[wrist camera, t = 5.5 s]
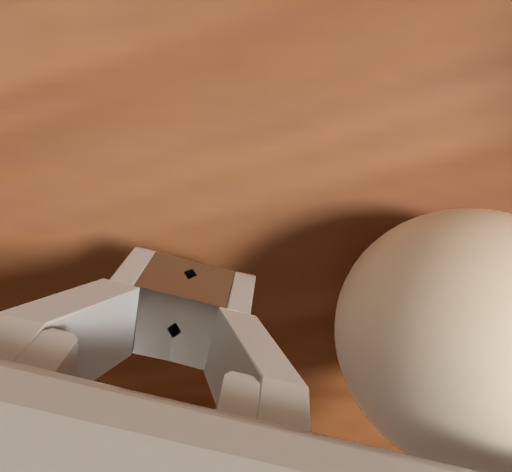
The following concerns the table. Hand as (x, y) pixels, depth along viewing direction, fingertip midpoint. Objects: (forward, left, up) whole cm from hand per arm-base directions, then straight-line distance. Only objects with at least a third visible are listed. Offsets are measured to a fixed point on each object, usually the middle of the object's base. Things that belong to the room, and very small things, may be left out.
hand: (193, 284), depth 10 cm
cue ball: (+1, -6, +1) cm, 6 cm away
